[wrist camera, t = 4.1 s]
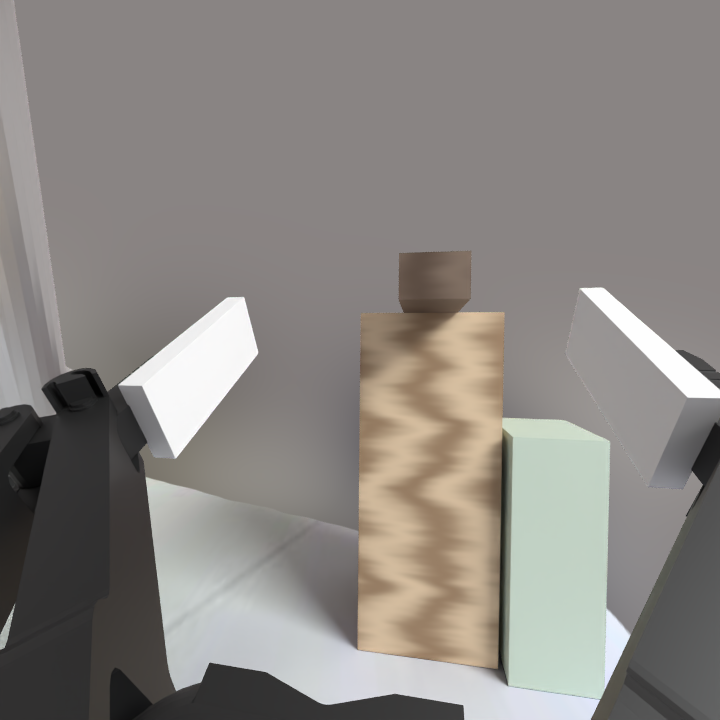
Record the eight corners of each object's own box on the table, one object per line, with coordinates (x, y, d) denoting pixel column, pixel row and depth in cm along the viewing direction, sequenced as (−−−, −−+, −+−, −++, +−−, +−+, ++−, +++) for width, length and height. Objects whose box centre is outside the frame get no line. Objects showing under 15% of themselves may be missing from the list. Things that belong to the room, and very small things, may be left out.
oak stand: (357, 649, 33) (360, 313, 32) (373, 571, 45) (376, 323, 44) (498, 669, 31) (504, 312, 31) (476, 582, 43) (480, 323, 42)
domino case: (398, 299, 24) (399, 250, 24) (408, 325, 46) (408, 299, 46) (470, 298, 23) (471, 248, 23) (445, 325, 45) (446, 299, 45)
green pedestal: (508, 685, 30) (513, 437, 29) (487, 609, 38) (491, 417, 38) (603, 699, 29) (610, 441, 28) (560, 617, 37) (564, 420, 37)
